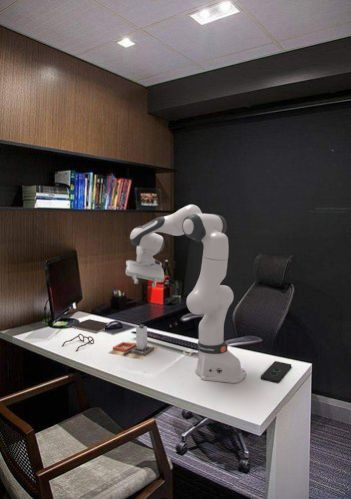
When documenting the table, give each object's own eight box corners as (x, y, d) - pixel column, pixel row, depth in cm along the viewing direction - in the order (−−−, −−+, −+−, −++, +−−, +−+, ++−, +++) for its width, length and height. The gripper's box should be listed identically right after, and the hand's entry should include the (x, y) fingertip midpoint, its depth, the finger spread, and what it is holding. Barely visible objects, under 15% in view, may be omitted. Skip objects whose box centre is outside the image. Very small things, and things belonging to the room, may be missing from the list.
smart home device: (259, 376, 157) (274, 360, 174) (259, 380, 158) (274, 364, 174) (278, 380, 153) (292, 364, 169) (278, 384, 153) (292, 367, 170)
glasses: (94, 345, 205) (94, 336, 204) (75, 352, 194) (75, 343, 194) (79, 340, 212) (79, 332, 212) (60, 347, 202) (60, 338, 202)
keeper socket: (136, 346, 195) (136, 344, 195) (126, 352, 187) (126, 349, 187) (122, 344, 199) (122, 341, 199) (112, 349, 191) (112, 347, 191)
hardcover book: (96, 334, 224) (95, 330, 223) (71, 328, 237) (71, 324, 236) (114, 327, 237) (114, 323, 237) (89, 322, 250) (89, 318, 250)
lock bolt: (147, 350, 189) (146, 324, 188) (143, 353, 185) (142, 326, 184) (141, 349, 191) (140, 323, 189) (136, 352, 187) (135, 325, 186)
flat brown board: (160, 350, 194) (160, 344, 193) (141, 362, 178) (141, 356, 177) (127, 344, 203) (127, 339, 203) (107, 355, 187) (107, 350, 187)
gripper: (127, 255, 187) (127, 277, 178) (164, 263, 194) (166, 285, 185) (124, 262, 191) (123, 284, 182) (160, 270, 198) (161, 291, 189)
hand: (145, 284), depth 183 cm, fingers open, 8 cm apart
